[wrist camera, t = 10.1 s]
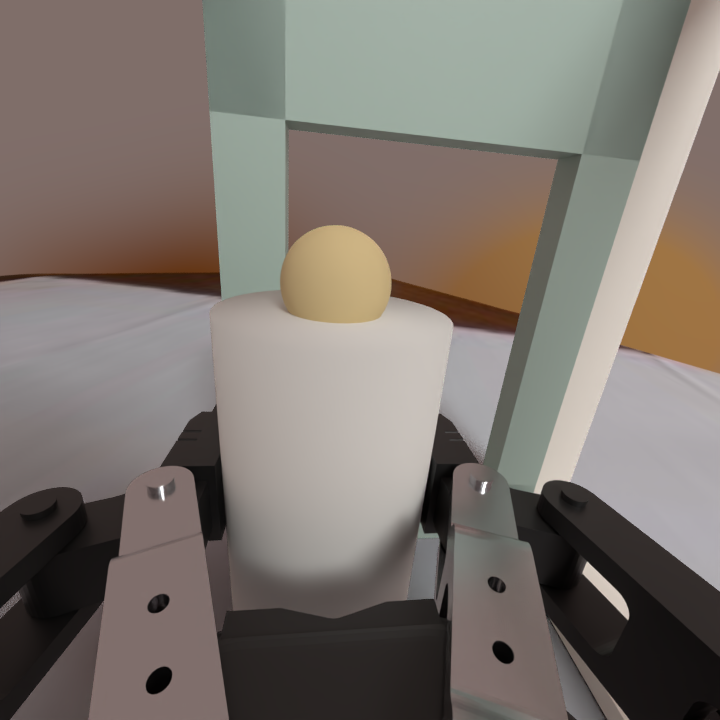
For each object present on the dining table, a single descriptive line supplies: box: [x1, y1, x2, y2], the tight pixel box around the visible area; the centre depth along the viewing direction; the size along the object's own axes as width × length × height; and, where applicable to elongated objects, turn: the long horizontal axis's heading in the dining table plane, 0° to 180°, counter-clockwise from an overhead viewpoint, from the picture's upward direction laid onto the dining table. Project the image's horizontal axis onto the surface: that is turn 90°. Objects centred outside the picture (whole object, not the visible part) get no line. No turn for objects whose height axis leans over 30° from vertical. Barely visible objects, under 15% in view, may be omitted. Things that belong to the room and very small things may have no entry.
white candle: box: [209, 225, 453, 618], centre depth 10 cm, size 5×5×13 cm
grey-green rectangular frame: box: [202, 0, 691, 539], centre depth 14 cm, size 13×3×20 cm, turn 96°
